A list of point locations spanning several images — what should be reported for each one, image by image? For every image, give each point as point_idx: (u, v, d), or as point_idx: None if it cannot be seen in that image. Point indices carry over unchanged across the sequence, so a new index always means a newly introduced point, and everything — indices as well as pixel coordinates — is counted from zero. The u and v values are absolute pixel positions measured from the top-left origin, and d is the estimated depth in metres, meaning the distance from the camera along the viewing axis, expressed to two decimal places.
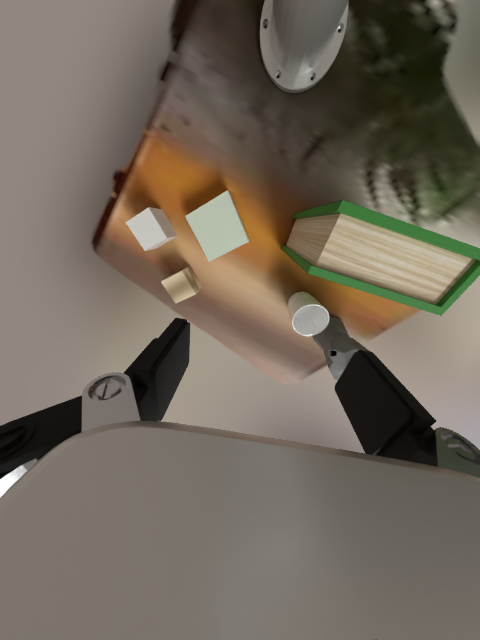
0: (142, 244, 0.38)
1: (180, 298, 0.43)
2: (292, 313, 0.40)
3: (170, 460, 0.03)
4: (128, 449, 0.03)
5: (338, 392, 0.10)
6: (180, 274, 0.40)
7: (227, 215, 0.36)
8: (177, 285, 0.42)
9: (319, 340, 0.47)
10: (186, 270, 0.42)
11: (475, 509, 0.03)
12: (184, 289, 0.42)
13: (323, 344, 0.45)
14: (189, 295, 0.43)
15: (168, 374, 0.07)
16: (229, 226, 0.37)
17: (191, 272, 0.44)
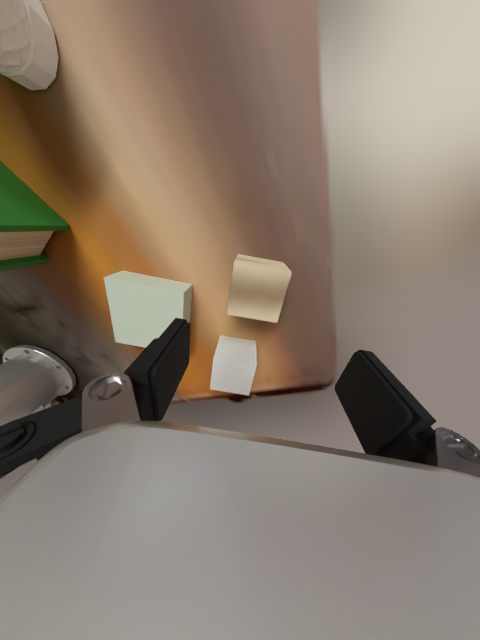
0: (252, 372, 0.25)
1: (271, 274, 0.18)
2: None
3: (170, 460, 0.03)
4: (128, 449, 0.03)
5: (338, 392, 0.10)
6: (234, 312, 0.21)
7: (124, 323, 0.25)
8: (255, 298, 0.20)
9: None
10: None
11: (475, 509, 0.03)
12: (247, 285, 0.19)
13: None
14: (249, 268, 0.18)
15: (168, 374, 0.07)
16: (127, 311, 0.24)
17: None
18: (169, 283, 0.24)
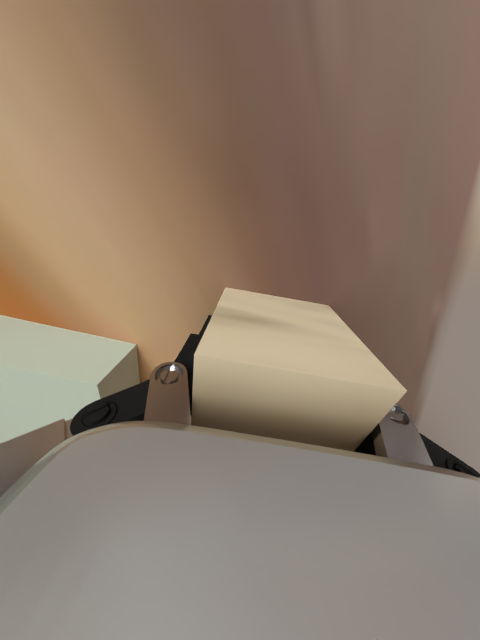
0: None
1: (330, 392, 0.05)
2: None
3: (170, 460, 0.03)
4: (127, 450, 0.03)
5: None
6: None
7: None
8: None
9: None
10: None
11: (475, 509, 0.03)
12: (245, 413, 0.06)
13: None
14: (250, 373, 0.05)
15: None
16: None
17: None
18: (81, 346, 0.11)
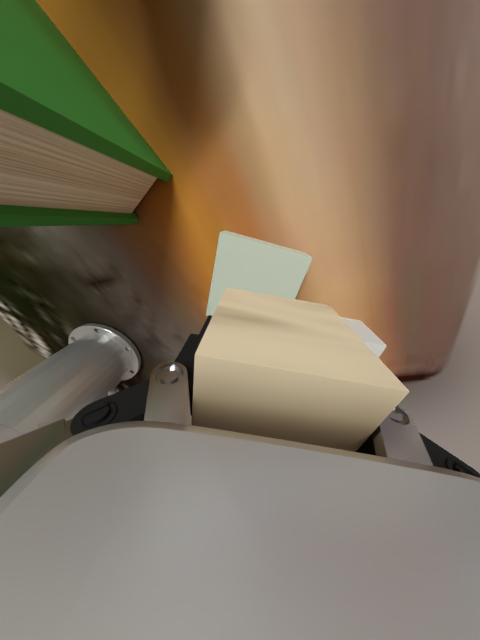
0: (377, 353, 0.21)
1: (332, 393, 0.05)
2: None
3: (170, 460, 0.03)
4: (128, 449, 0.03)
5: None
6: None
7: None
8: None
9: None
10: None
11: (475, 509, 0.03)
12: (246, 414, 0.06)
13: None
14: (251, 374, 0.05)
15: None
16: (233, 277, 0.20)
17: None
18: (284, 247, 0.21)
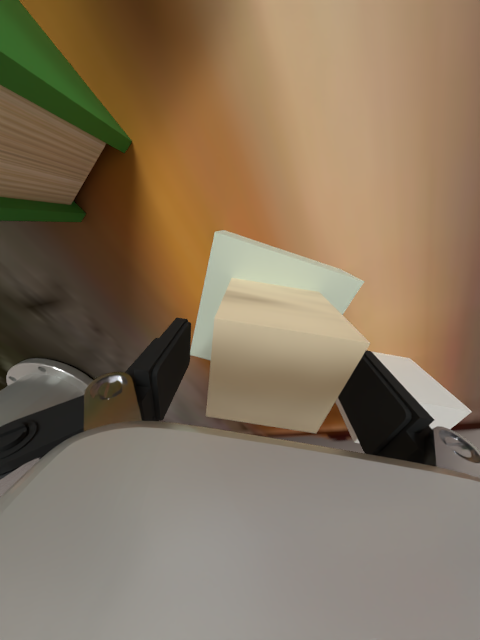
0: (454, 420, 0.14)
1: (314, 346, 0.07)
2: None
3: (170, 460, 0.03)
4: (128, 449, 0.03)
5: None
6: (221, 413, 0.09)
7: None
8: (269, 393, 0.08)
9: None
10: None
11: (475, 509, 0.03)
12: (251, 368, 0.08)
13: None
14: (255, 332, 0.07)
15: (169, 374, 0.07)
16: None
17: None
18: (313, 261, 0.13)
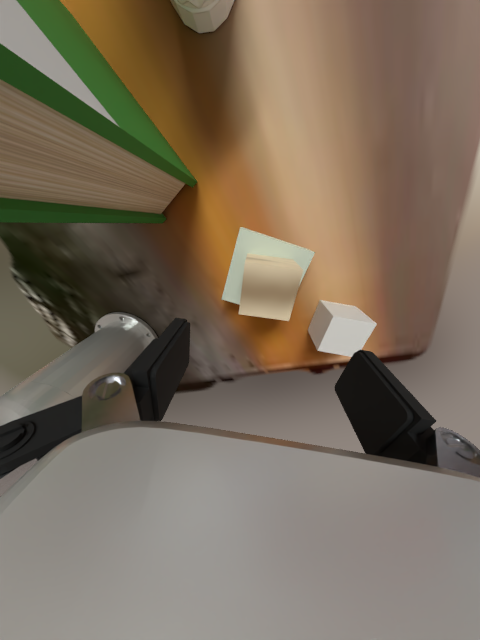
0: (369, 331, 0.25)
1: (283, 272, 0.18)
2: None
3: (170, 460, 0.03)
4: (127, 450, 0.03)
5: (338, 392, 0.10)
6: (245, 311, 0.21)
7: (240, 279, 0.25)
8: (266, 297, 0.20)
9: None
10: None
11: (475, 509, 0.03)
12: (258, 285, 0.19)
13: None
14: (260, 267, 0.18)
15: (168, 374, 0.07)
16: None
17: None
18: None
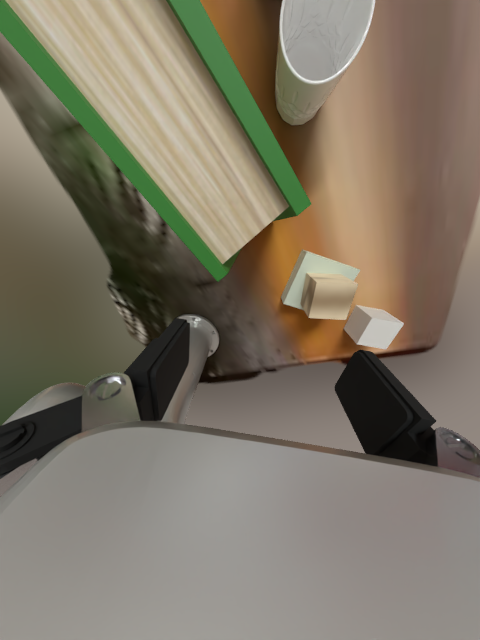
0: (398, 328, 0.33)
1: (343, 287, 0.27)
2: (340, 77, 0.18)
3: (170, 460, 0.03)
4: (127, 449, 0.03)
5: (338, 392, 0.10)
6: (314, 315, 0.29)
7: (300, 289, 0.33)
8: (330, 304, 0.28)
9: None
10: (305, 309, 0.31)
11: (475, 509, 0.03)
12: (325, 296, 0.28)
13: None
14: (327, 285, 0.27)
15: (168, 374, 0.07)
16: None
17: (304, 300, 0.32)
18: (339, 262, 0.33)
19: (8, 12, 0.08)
